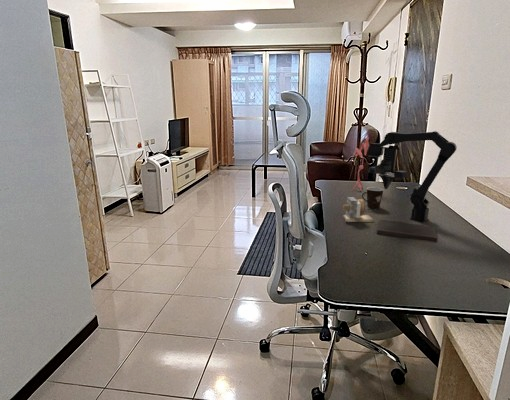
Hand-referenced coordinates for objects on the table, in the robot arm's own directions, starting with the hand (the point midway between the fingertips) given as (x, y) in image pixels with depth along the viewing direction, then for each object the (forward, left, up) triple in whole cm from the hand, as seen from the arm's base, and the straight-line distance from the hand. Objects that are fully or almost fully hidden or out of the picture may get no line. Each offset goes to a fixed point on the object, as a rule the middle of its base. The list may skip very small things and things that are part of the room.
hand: (385, 189), depth 176 cm
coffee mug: (+12, -6, -13) cm, 19 cm away
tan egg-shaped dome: (+3, +21, -11) cm, 24 cm away
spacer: (+2, +20, -11) cm, 23 cm away
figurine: (+41, -39, -13) cm, 58 cm away
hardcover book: (-22, +16, -14) cm, 30 cm away
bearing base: (+1, +19, -13) cm, 23 cm away
